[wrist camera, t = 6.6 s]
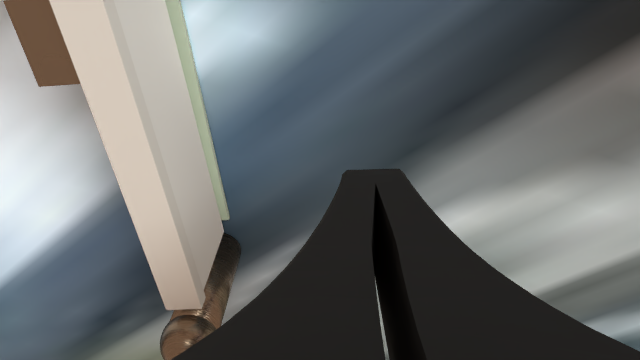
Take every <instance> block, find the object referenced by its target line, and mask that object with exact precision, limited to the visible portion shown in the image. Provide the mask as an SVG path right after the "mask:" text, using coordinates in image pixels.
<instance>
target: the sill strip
mask: <svg viewBox="0 0 640 360" xmlns="http://www.w3.org/2000/svg"><path fill="white" fill-rule="evenodd" d="M165 2H166V6H167V10H168V14H169V18H170V22H171V26H172V30H173V34H174V38H175V41H176V45H177V49H178V53H179V57H180V61H181V65H182V69H183V73H184V77H185V81H186V84H187V88H188V92H189V96H190V100H191V104H192V108H193V112H194V116H195V120H196V124H197V128H198V131H199V135H200V139H201V143H202V147H203V151H204V155H205V159H206V163H207V167H208V171H209V174H210V178H211V182H212V186H213V190H214V194H215V198H216V202H217V206H218V210H219V214H220V217H221V220H229V219H230V216H229V211H228V207H227V203H226V198H225V194H224V190H223V185H222V181H221V176H220V172H219V168H218V163H217V159H216V154H215V150H214V146H213V141H212V137H211V133H210V128H209V124H208V119H207V115H206V111H205V106H204V102H203V98H202V93H201V89H200V84H199V80H198V76H197V71H196V67H195V62H194V58H193V54H192V49H191V45H190V41H189V36H188V32H187V27H186V23H185V19H184V14H183V10H182V6H181V1H180V0H165Z"/></svg>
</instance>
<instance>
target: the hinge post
mask: <svg viewBox="0 0 640 360" xmlns="http://www.w3.org/2000/svg"><path fill="white" fill-rule="evenodd" d="M240 254H241V247H240V244H239V243H238V241H237V240H236V239H235V238H234V237H232V236H230V235H228V234H225V233H223V236H222V239H221V242H220V244H219V247H218V250H217V253H216V256H215V259H214V262H213V265H212V268H211V271H210V274H209V277H208V279H207V282H206V285H205V288H204V293H205V296H206V298H205V301H204V304H203V307H202V309H181V310H174V312H173V314H172V317H171V319H170V322H169V323H168V324H167V325H166V327H165V328H164V330H163V332H162V335H161V339H160V350H161V354H162V357H163V359H164V360H171V359H172V358H174V357H176V356H177V355H179V354H180V353H182V352H184V351H185V350H187V349H188V348H190V347H191V346H193V345H194V344H196V343H197V342H199V341H200V340H202V339H203V338H205V337H206V336H208V335H209V334H211V333H212V332H214V331H215V330H217V329H218V328H219V327H221V323H222V320H223V316H224V312H225V309H226V305H227V301H228V298H229V294H230V291H231V287H232V283H233V280H234V276H235V272H236V269H237V265H238V262H239V258H240Z"/></svg>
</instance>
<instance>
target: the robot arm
mask: <svg viewBox="0 0 640 360" xmlns="http://www.w3.org/2000/svg"><path fill="white" fill-rule="evenodd" d="M375 279H376V285H377V290H378V296H379V302H380V308H381V313H382V319H383V325H384V330H385V336H386V342H387V347H388V353H389V359H390V360H640V352H639V351H637V350H635V349H633V348H631V347H629V346H627V345H625V344H623V343H621V342H619V341H616V340H614V339H612V338H610V337H608V336H606V335H604V334H602V333H600V332H598V331H595V330H593V329H591V328H590V327H588V326H586V325H584V324H582V323H580V322H578V321H577V320H575V319H573V318H571V317H570V316H568V315H566V314H564V313H562V312H561V311H559V310H557V309H555V308H553V307H552V306H550V305H548V304H547V303H545V302H544V301H542V300H540V299H539V298H537V297H535V296H534V295H532V294H531V293H529V292H528V291H526V290H525V289H523V288H522V287H520V286H519V285H517V284H516V283H514V282H513V281H511V280H510V279H508V278H507V277H505V276H504V275H503V274H501V273H500V272H499V271H497V270H496V269H494V268H493V267H492V266H491V265H489V264H488V263H487V262H486V261H484V260H483V259H482V258H481V257H479V256H478V255H477V254H476V253H474V252H473V251H472V250H471V249H470V248H469V247H468V246H467V245H465V244H464V243H463V242H462V241H461V240H460V239H459V238H458V237H457V236H456V235H455V234H454V233H453V232H452V231H451V230H450V229H449V228H448V227H447V226H446V225H445V224H444V223H443V222H442V221H441V219H440V218H439V217H438V216H437V215H436V214H435V213H434V212H433V210H432V209H431V208H430V207H429V206H428V205H427V203H426V202H425V201H424V200H423V199H422V197H421V196H420V195H419V194H418V192H417V191H416V190H415V188H414V187H413V186H412V184H411V183H410V181H409V180H408V179H407V177H406V176H405V174H404V173H403V172H402V171H401V170H400V169H371V170H347V171H346V172H344V173H343V174H342V179H341V182H340V185H339V187H338V189H337V192H336V194H335V196H334V198H333V200H332V202H331V204H330V206H329V207H328V209H327V211H326V213H325V215H324V216H323V218H322V220H321V221H320V223H319V224H318V226H317V227H316V229H315V230H314V232H313V233H312V235H311V236H310V238H309V239H308V241H307V242H306V243H305V245H304V246H303V247H302V249H301V250H300V251H299V252H298V254H297V255H296V256H295V257H294V259H293V260H292V261H291V262H290V263H289V264H288V266H287V267H286V268H285V269H284V270H283V271H282V272H281V273H280V274H279V275H278V276H277V277H276V278H275V279H274V280H273V281H272V282H271V284H270V285H269V286H268V287H267V288H266V289H265V290H263V291H262V292H261V293H260V294H259V295H258V296H257V297H256V298H255V299H254V300H253V301H251V302H250V303H249V304H248V305H247V306H245V307H244V308H243V309H242V310H241V311H239V312H238V313H237V314H236V315H234V316H233V317H232V318H231V319H230V320H228V321H227V322H226V323H225V324H223V325H222V326H221V327H219V328H218V329H217V330H215V331H214V332H212V333H211V334H209V335H208V336H206V337H205V338H203V339H202V340H200V341H199V342H197V343H196V344H194V345H193V346H191V347H190V348H188V349H187V350H185V351H184V352H182V353H180V354H179V355H177V356H176V357H174V358H172V359H171V360H385V354H384V347H383V340H382V334H381V326H380V318H379V310H378V302H377V294H376V285H375Z"/></svg>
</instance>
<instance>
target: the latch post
mask: <svg viewBox="0 0 640 360" xmlns="http://www.w3.org/2000/svg"><path fill="white" fill-rule="evenodd" d="M3 2H4V4H5V6H6V9H7V11H8V14H9V16H10V18H11V21H12V23H13V26H14V28H15V30H16V33H17V35H18V38H19V40H20V42H21V45H22V47H23V50H24V52H25V54H26V57H27V59H28V62H29V64H30V66H31V69H32V71H33V74H34V76H35V78H36V81H37V83H38V86H39V87H41V86H55V85H69V84H81V83H80V81H79V78H78V75H77V73H76V70H75V67H74V65H73V62H72V59H71V57H70V54H69V52H68V49H67V46H66V44H65V41H64V38H63V36H62V33H61V30H60V28H59V25H58V22H57V20H56V17H55V15H54V12H53V9H52V7H51V4H50V1H49V0H5V1H3Z"/></svg>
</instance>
